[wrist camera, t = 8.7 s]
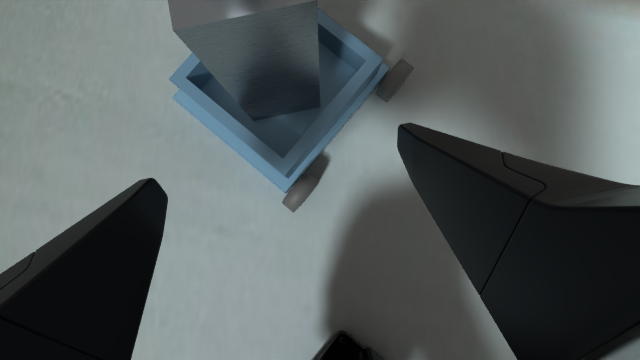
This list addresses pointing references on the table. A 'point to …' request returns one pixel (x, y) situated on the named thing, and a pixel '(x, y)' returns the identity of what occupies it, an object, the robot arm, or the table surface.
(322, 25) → the chassis
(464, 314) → the table surface
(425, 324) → the table surface
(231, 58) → the square bottle with cap
